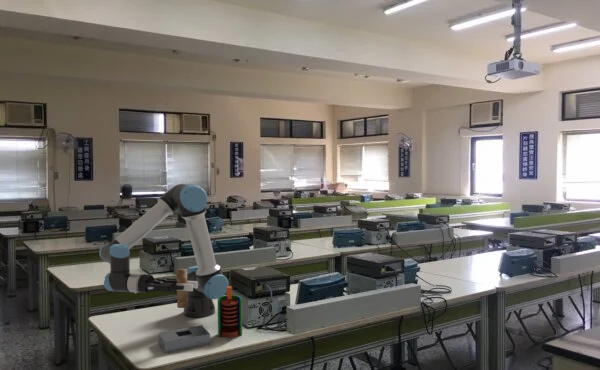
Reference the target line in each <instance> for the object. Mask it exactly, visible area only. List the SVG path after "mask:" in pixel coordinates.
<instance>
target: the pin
mask: <svg viewBox="0 0 600 370" xmlns="http://www.w3.org/2000/svg"><path fill="white" fill-rule="evenodd" d="M176 279H177V283H182V284H187V268H177V269H176ZM176 303H177V304H176V305H177V306H176V307H177V308H178V309H184V308H185V307H187V291H177V290H176Z"/></svg>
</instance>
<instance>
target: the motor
mask: <svg viewBox="0 0 600 370" xmlns="http://www.w3.org/2000/svg"><path fill="white" fill-rule="evenodd" d="M232 290H233V289H232V286H230V285H228V286H227V291H226V294H227V295H223V296H221V297H219V298H218V299H217V335H218V336H217V337H218V338H220V337H222V338H225V339H233V338H237V337H238V336H239V337H240V336H243V297H242V296H240V295H237V294H236V295H235V294H233V292H232Z"/></svg>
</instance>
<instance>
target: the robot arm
mask: <svg viewBox="0 0 600 370" xmlns="http://www.w3.org/2000/svg"><path fill="white" fill-rule="evenodd" d="M207 205H208V194H207V192H206V190H205V189H204V188H202V187H201V186H200V185H197V184H192V183H191V184H188V183H187V184H186V183H180V184H176V185H174V186H172V187H171V188H170V189H169V190H167V191H166V192H164V194H162V196H160V197H159V198H158V199H157V203H156V204H154V206H152V207H151V208H150V209H148V210H147V211H146V212H145V213H144V214H143V215H141V217H139V218H138V219H137V220H136V221H135V222H133V223H132V224H131V225H129V226H128V227H127V228H126V229H125V230H124V231H123V232H121V234H119V235H118V236H117V237H115V239H113V240H112V241H111V242H109V243H106V244H104V245H102V246H101V247H100V249H99V252H98V253H99V254H98V255H99V257H100V259H101V260H102V261H103V262H105V263H108V264H109V265H110V272H108V273H107V274H106V275H105V276H104V280H103V286H104V288H105V290H107V291H110V292H115V293H116V292H118V293H119V292H120V293H123V292H124V293H134V295H136V294H137V293H141V294H150V293H152V292H166V293H167V292H168V293H169V292H170V293H171V292H173V294H175V293H177V291H187V307H185V308H183V315H184V316H185V317H190V318H204V317H208V316H212V315H213V314H215V313H216V306H215V303H214V300H218V298H219V297H221V296H225V294H227V286H229V280H228V278H227V277H226V276H225V275H224V274H223V272H222V268H221V265H219V264H217V261H216V257H215V252H214V249H213V245H212V241H211V237H210V233H209V232H210V231H209V229H208V228H209V227H208V225H207V221H206V216H205V215H206V213H207ZM178 211H179V214H180V217H181V218H182V219H184V220H185V223H186V224H185V225H186V227H187V231H188V235H189V240H190V242H191V246H192V250H193V255H194V259H195V262H196V265H194V266H190V267H187V268H186V269H187V284H182V283H177V278H171V277H170V278H169V277H163V278H159V277H158V278H155V277H154V276H153V275H152V274H146V273H131V271H130V268H131V267H130V265H131V264H130V263H131V262H130V261H131V260H130V259H131V258H130V255H131V251H130V249H132V248H133V247H134V246H135V245H136V244H137V243H139V241H141V239H143V238H144V237H145V236H146V235H148V234H149V233H150V232H151V231H152V230H153V229H154V228H156V227H157V226H158V225H159V224H160V223H161V222H163V220H165V219H166V218H167V217H168V216H172V215H174V214H175V213H176V212H178Z"/></svg>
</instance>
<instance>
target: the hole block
mask: <svg viewBox="0 0 600 370" xmlns="http://www.w3.org/2000/svg"><path fill="white" fill-rule="evenodd" d="M157 335H158V337H157V338H158V339H157V340H158V345H159V347H160V349H161V350H162V351H163V353H164V354H168V353H170V354H171V353H175V352H180V351H185V350H192V349H196V348H202V346H203V347H208V346H211V333H210V332H209V331H208V330H207V329H206V328H205V327H204V326H203V325H201V324H200V325H197V326H196V325H195V326H190V327H183V328H177V329H172V330H171V329H170V330H166V331H165V330H164V331H160V332H159V331H158V333H157ZM207 345H208V346H207Z"/></svg>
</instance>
